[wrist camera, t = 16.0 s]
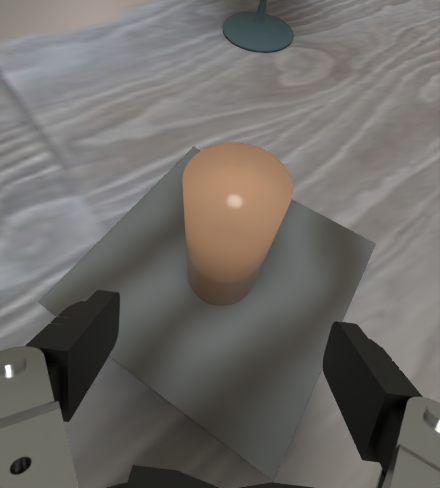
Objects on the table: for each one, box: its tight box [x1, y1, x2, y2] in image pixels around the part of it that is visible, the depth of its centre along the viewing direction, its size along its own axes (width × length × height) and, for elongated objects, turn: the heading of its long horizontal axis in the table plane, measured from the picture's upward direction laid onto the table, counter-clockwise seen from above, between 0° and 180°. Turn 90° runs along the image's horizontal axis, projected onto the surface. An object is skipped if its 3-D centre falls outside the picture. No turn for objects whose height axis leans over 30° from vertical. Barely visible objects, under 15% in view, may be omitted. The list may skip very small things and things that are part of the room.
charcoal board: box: [38, 147, 375, 482], centre depth 25 cm, size 20×20×2 cm
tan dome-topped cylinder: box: [182, 143, 293, 305], centre depth 19 cm, size 6×6×11 cm
